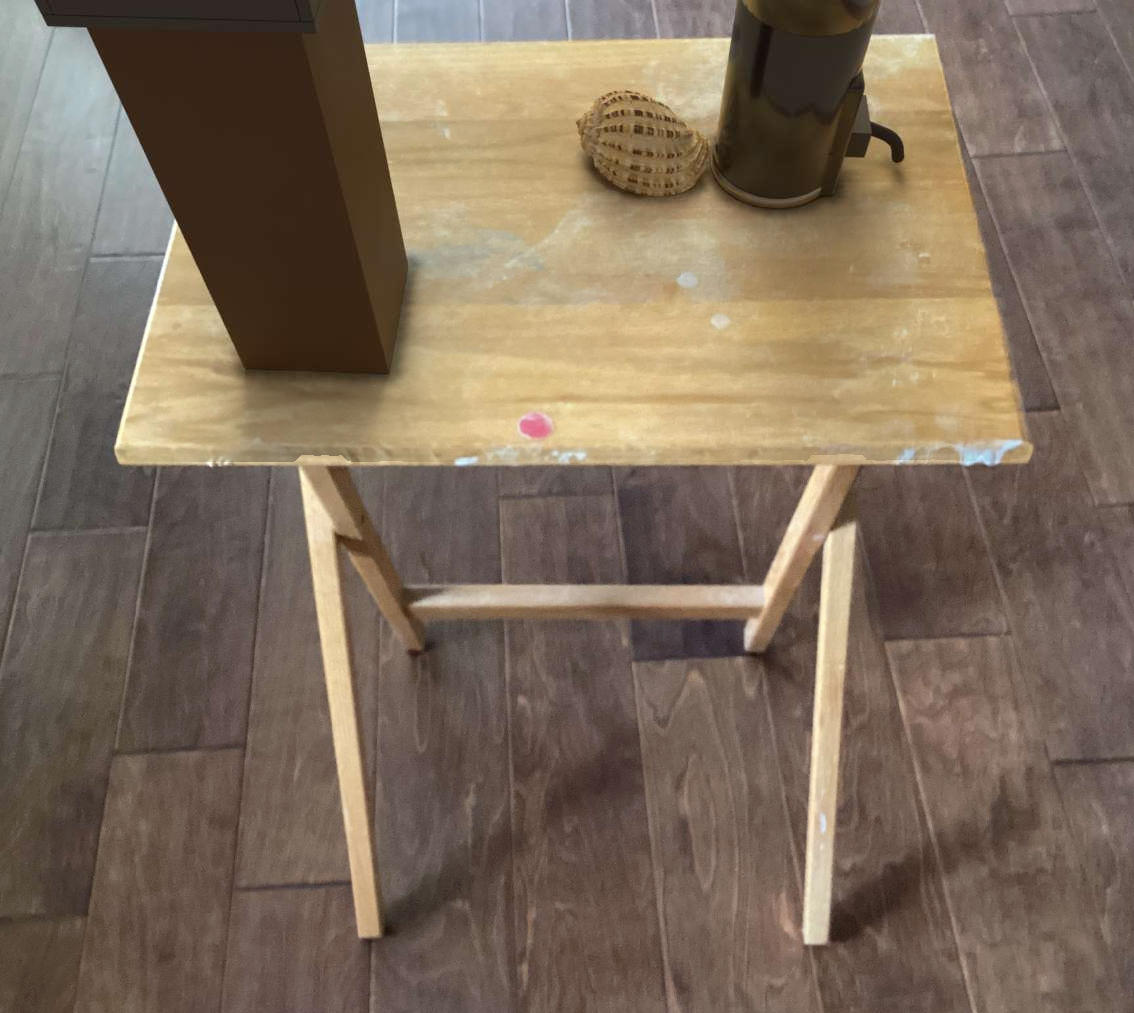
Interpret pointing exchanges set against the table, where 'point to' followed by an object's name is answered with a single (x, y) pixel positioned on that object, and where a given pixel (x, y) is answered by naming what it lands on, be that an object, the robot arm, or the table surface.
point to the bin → (265, 166)
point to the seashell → (642, 144)
